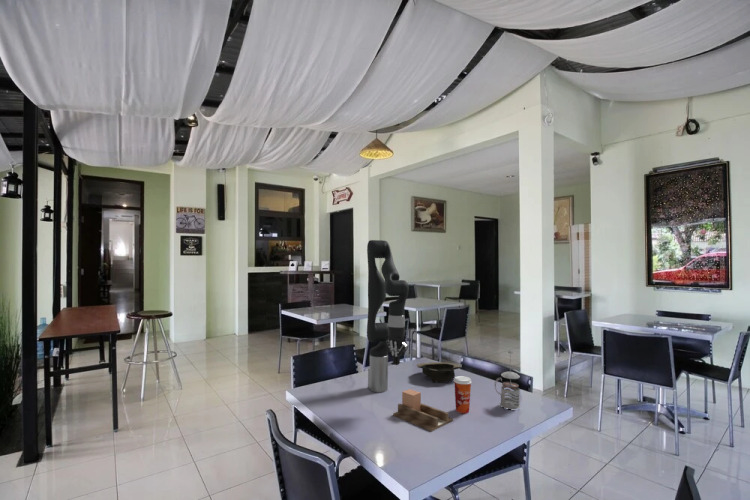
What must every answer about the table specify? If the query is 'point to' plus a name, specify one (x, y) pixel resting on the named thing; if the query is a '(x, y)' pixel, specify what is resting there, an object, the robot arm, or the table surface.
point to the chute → (423, 416)
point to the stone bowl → (439, 371)
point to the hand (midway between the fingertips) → (396, 364)
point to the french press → (514, 400)
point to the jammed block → (412, 399)
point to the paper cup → (462, 393)
